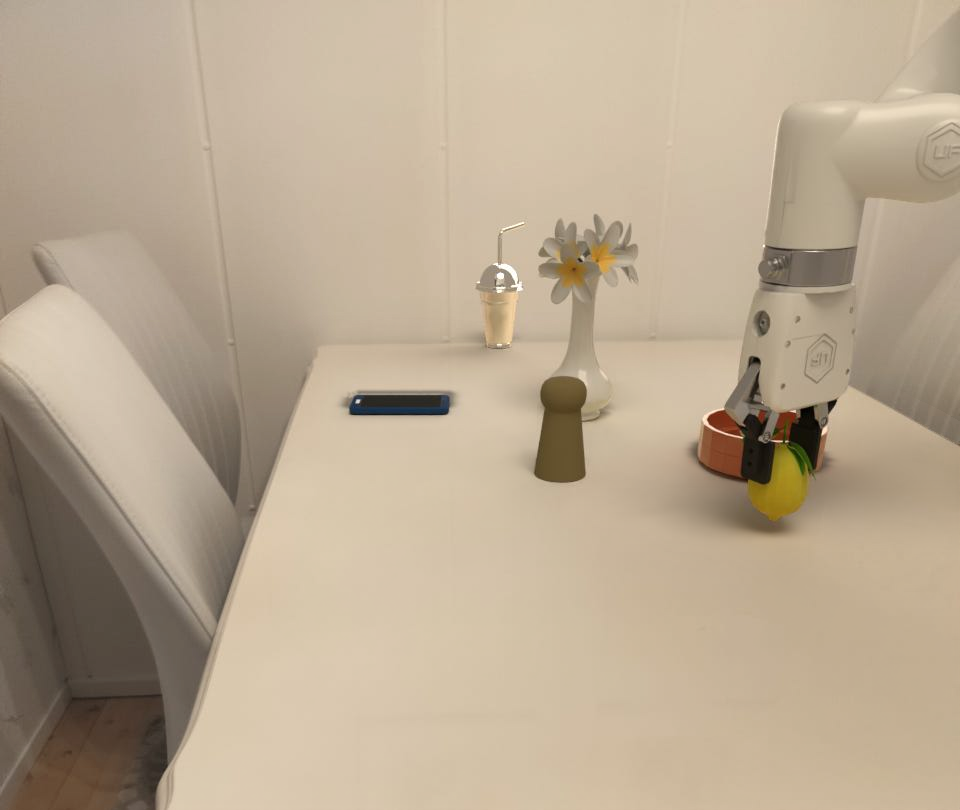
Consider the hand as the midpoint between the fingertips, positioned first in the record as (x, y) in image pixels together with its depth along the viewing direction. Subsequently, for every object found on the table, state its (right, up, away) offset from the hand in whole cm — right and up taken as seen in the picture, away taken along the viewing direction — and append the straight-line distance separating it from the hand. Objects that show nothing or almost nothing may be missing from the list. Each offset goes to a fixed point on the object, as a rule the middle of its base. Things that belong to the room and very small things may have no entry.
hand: (778, 471), depth 86 cm
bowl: (+5, +5, +23) cm, 24 cm away
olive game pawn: (-19, +3, +20) cm, 28 cm away
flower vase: (-14, +15, +40) cm, 45 cm away
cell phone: (-39, +17, +44) cm, 62 cm away
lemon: (0, -4, +3) cm, 5 cm away
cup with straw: (-24, +37, +79) cm, 90 cm away
